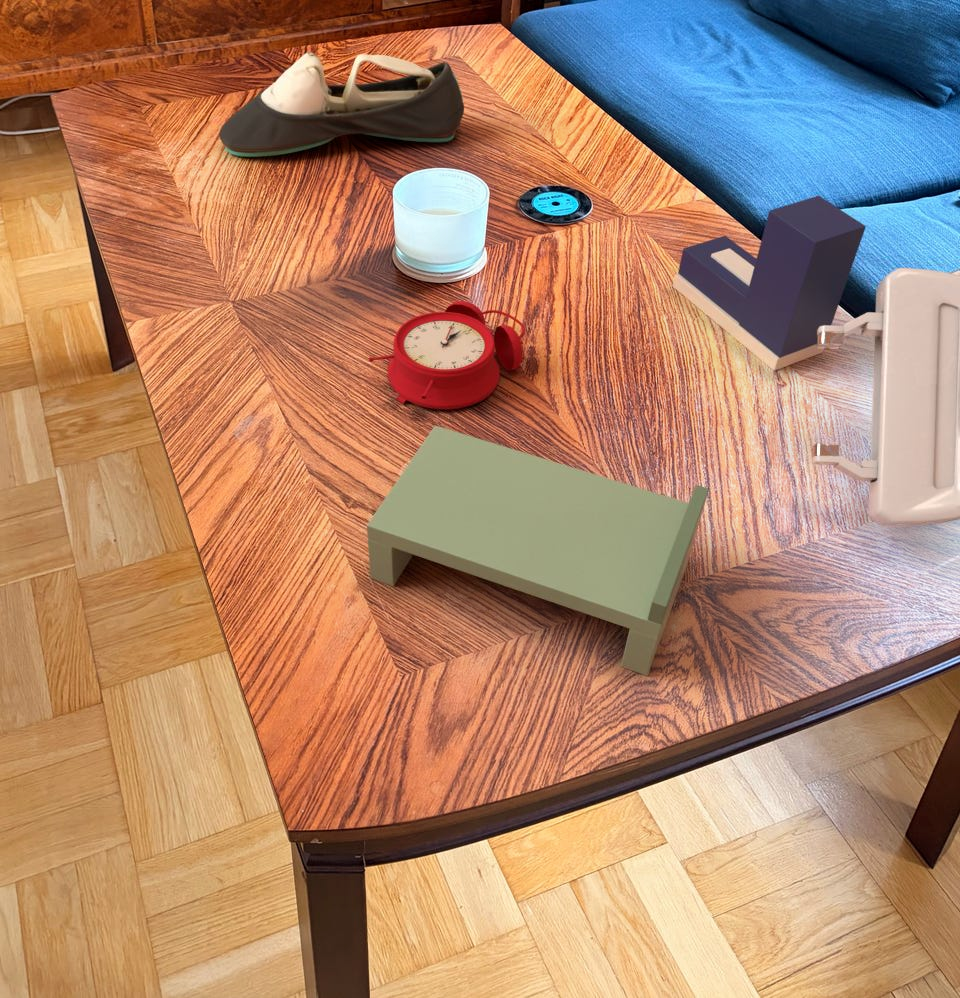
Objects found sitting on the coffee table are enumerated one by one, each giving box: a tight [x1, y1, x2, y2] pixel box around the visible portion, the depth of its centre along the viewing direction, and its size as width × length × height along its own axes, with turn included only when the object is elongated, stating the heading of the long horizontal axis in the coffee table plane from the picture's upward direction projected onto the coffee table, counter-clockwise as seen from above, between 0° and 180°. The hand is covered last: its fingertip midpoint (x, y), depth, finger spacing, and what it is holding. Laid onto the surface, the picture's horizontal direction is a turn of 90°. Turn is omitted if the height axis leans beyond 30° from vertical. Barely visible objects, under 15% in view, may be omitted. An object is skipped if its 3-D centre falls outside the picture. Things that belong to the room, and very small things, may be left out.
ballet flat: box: [218, 51, 465, 158], centre depth 123 cm, size 10×30×10 cm, turn 106°
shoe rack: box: [366, 425, 710, 677], centre depth 75 cm, size 22×12×8 cm, turn 67°
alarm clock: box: [368, 300, 526, 410], centre depth 93 cm, size 10×6×15 cm
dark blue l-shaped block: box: [672, 195, 867, 372], centre depth 97 cm, size 16×6×14 cm, turn 30°
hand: (815, 395), depth 80 cm, fingers open, 8 cm apart
